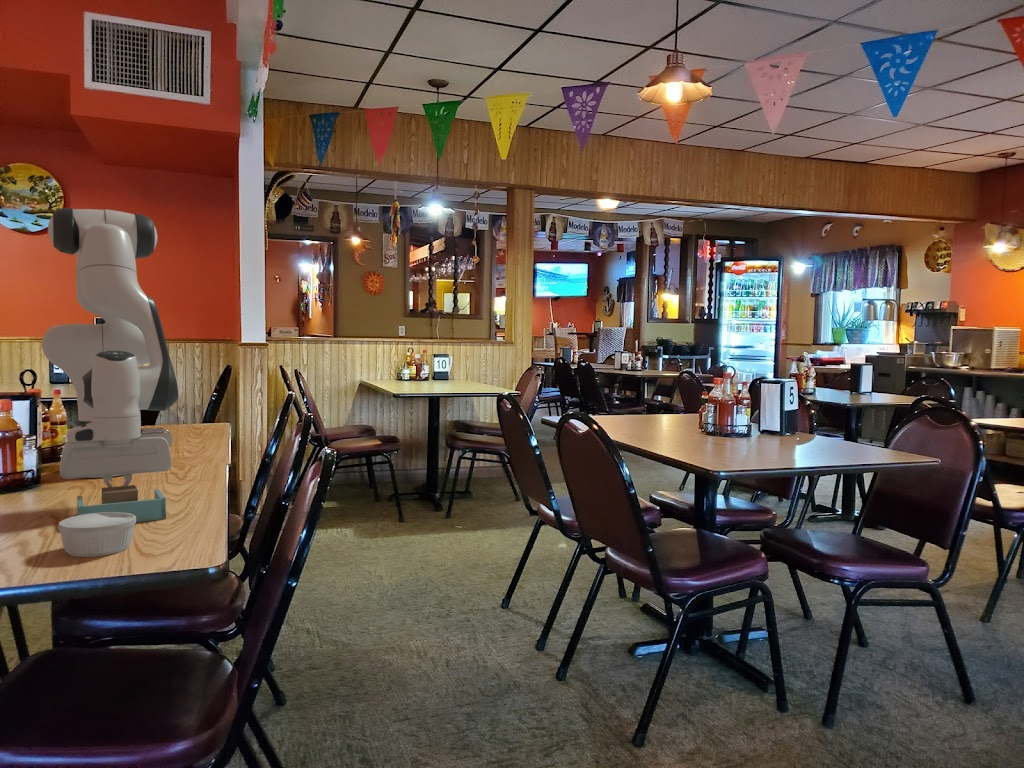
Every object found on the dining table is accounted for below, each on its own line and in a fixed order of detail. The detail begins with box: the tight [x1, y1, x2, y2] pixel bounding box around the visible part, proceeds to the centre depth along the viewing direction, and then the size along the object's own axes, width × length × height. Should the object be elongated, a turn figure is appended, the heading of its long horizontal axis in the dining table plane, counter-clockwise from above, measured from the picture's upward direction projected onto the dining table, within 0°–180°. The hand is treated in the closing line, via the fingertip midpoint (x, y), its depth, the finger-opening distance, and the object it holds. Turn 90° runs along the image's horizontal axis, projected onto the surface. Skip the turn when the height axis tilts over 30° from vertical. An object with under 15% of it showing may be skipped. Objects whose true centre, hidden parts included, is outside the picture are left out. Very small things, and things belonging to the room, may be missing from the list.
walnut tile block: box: [101, 484, 139, 504], centre depth 144 cm, size 6×6×5 cm
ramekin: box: [57, 512, 137, 558], centre depth 119 cm, size 11×11×5 cm
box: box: [76, 488, 167, 523], centre depth 140 cm, size 11×15×4 cm
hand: (118, 496), depth 147 cm, fingers closed
